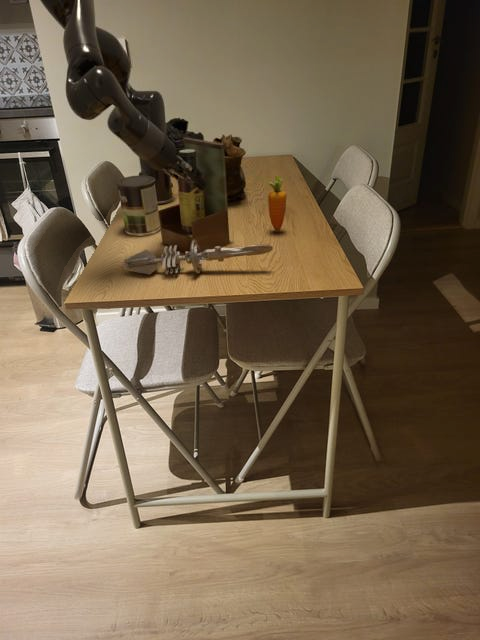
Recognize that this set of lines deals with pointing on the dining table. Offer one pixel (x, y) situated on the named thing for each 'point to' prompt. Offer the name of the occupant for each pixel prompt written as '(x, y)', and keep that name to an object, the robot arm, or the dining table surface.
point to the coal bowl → (180, 133)
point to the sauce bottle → (189, 195)
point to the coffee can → (139, 205)
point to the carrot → (277, 204)
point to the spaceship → (188, 257)
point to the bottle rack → (215, 203)
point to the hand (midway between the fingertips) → (195, 184)
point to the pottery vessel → (233, 166)
